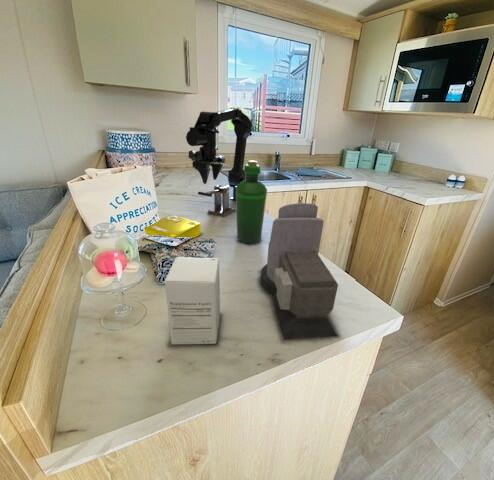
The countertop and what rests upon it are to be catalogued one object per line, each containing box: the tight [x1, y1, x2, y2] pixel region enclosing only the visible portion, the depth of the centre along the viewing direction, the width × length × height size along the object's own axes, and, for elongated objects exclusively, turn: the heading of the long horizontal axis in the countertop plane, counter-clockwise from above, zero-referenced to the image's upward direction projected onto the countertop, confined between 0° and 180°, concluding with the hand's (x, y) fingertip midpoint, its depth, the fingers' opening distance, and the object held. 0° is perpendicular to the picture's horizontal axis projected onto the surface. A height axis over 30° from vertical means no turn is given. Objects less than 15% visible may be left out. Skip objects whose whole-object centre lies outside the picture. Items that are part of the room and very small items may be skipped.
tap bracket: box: [207, 184, 236, 217], centre depth 123 cm, size 10×8×12 cm
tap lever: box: [197, 186, 224, 198], centre depth 116 cm, size 15×6×2 cm, turn 159°
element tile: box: [144, 214, 202, 239], centre depth 97 cm, size 15×15×5 cm
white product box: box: [164, 256, 221, 345], centre depth 55 cm, size 9×9×15 cm
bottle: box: [235, 159, 268, 245], centre depth 95 cm, size 11×11×28 cm
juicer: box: [260, 202, 339, 341], centre depth 66 cm, size 30×16×24 cm, turn 10°
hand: (210, 181), depth 122 cm, fingers open, 9 cm apart
